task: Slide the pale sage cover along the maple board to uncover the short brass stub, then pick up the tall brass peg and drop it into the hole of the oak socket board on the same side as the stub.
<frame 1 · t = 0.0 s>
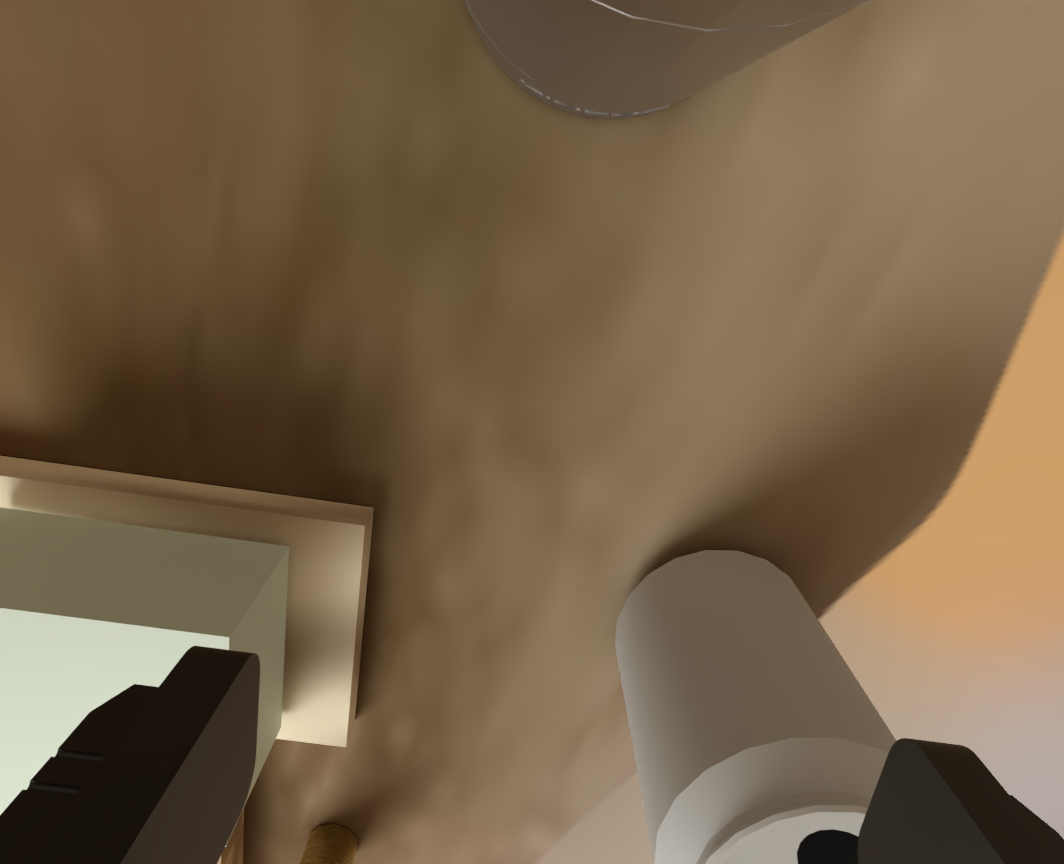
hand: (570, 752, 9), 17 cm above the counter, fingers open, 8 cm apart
peg: (332, 842, 32), on the counter
socket board: (109, 833, 32), on the counter
cover: (107, 670, 24), point 5 cm above the counter, slide at 0.0 cm
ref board: (172, 595, 28), on the counter
can: (705, 618, 29), on the counter
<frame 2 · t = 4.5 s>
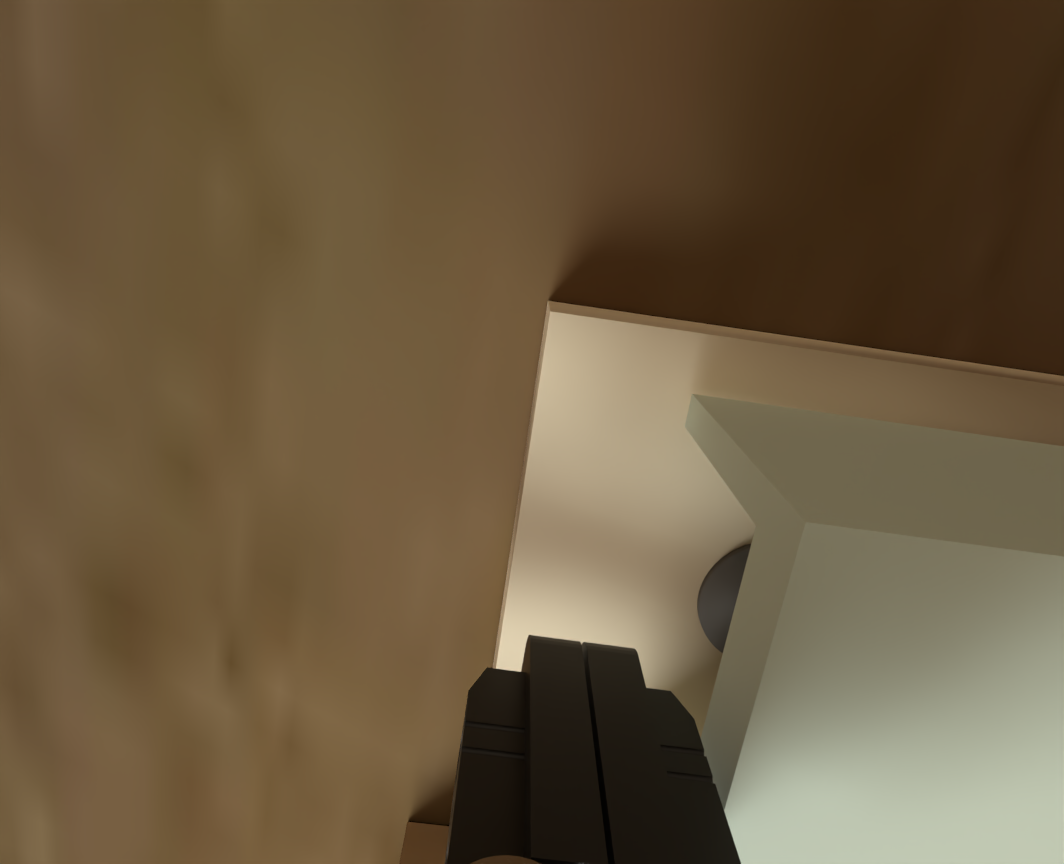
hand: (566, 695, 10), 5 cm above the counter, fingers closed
cover: (986, 723, 11), point 5 cm above the counter, slide at 0.1 cm, touching gripper
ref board: (853, 579, 16), on the counter
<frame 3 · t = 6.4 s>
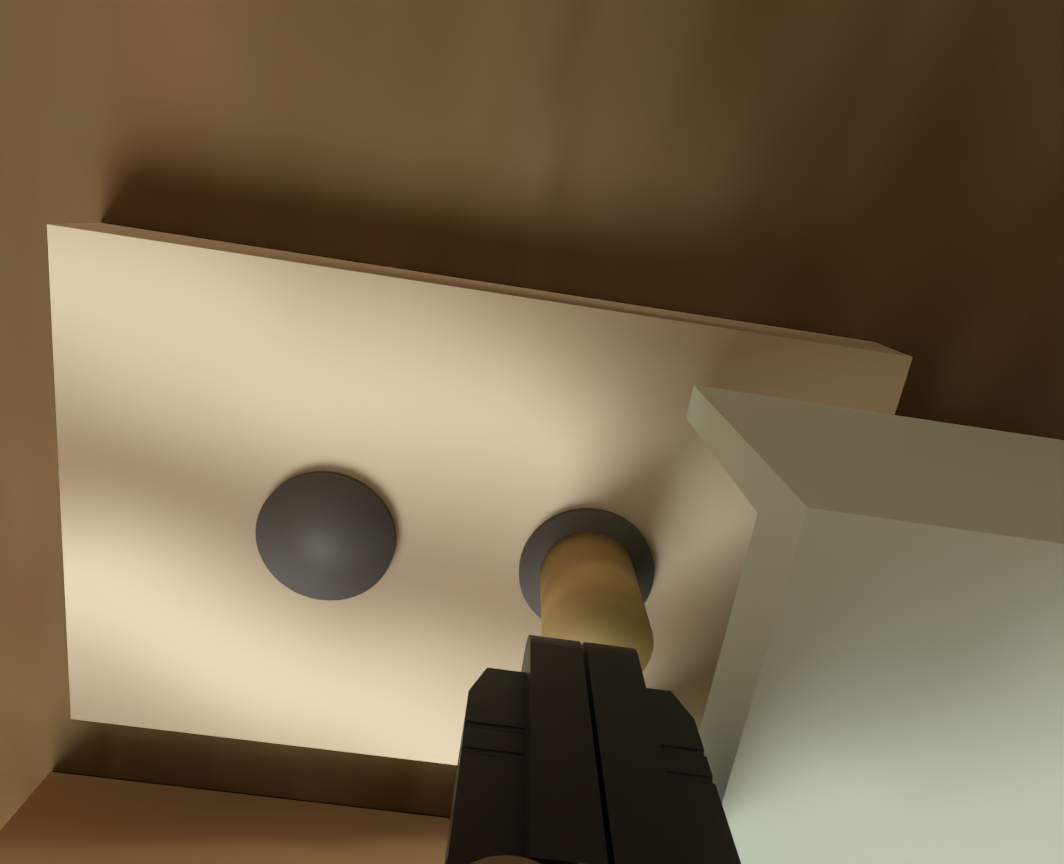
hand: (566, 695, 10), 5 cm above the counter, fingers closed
cover: (985, 715, 11), point 5 cm above the counter, slide at 8.7 cm, touching gripper
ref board: (464, 520, 15), on the counter
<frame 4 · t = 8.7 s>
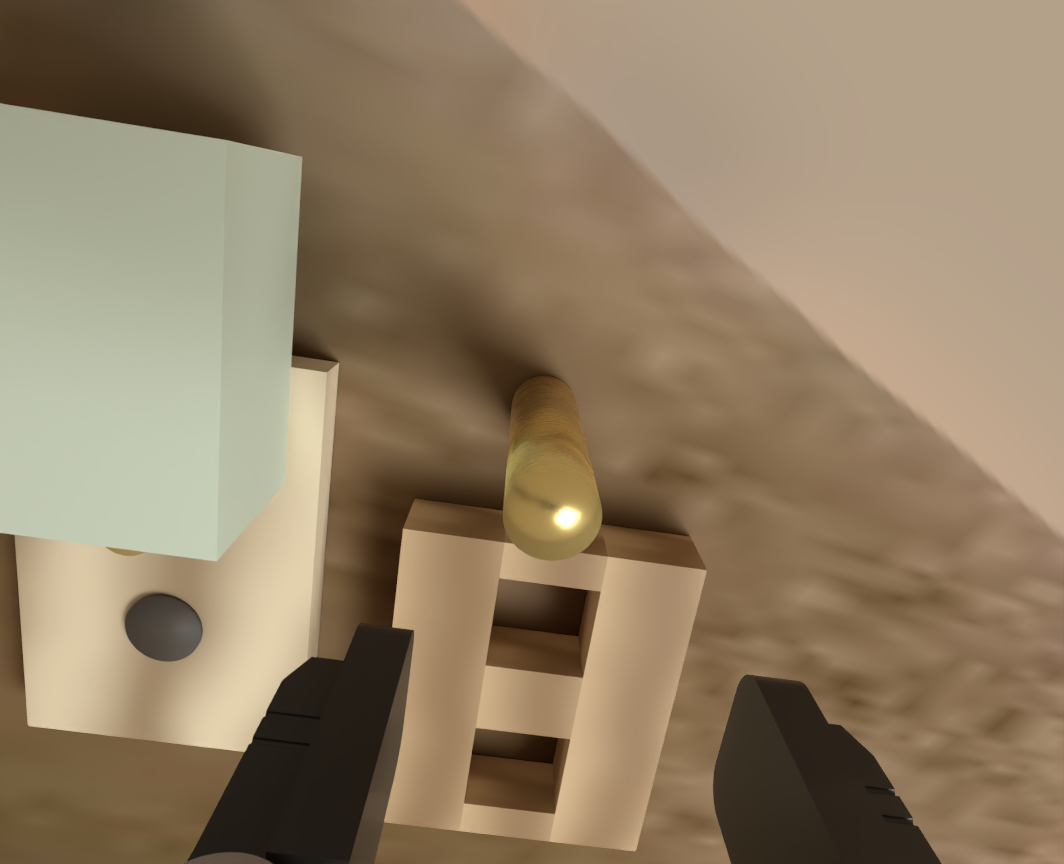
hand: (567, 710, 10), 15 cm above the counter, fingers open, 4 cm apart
peg: (543, 407, 24), on the counter
socket board: (528, 659, 27), on the counter
cover: (109, 325, 19), point 5 cm above the counter, slide at 8.7 cm
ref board: (185, 543, 26), on the counter
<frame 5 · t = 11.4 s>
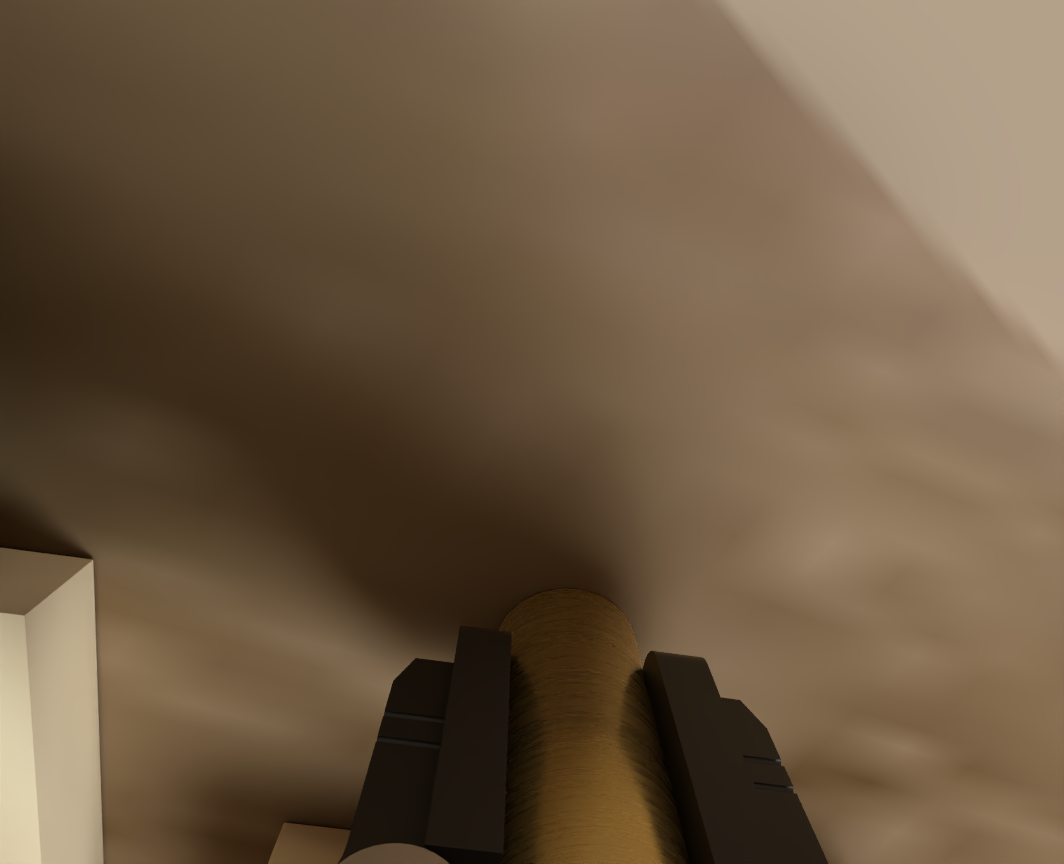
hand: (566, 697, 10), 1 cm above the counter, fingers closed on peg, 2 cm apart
peg: (565, 651, 11), on the counter, touching gripper
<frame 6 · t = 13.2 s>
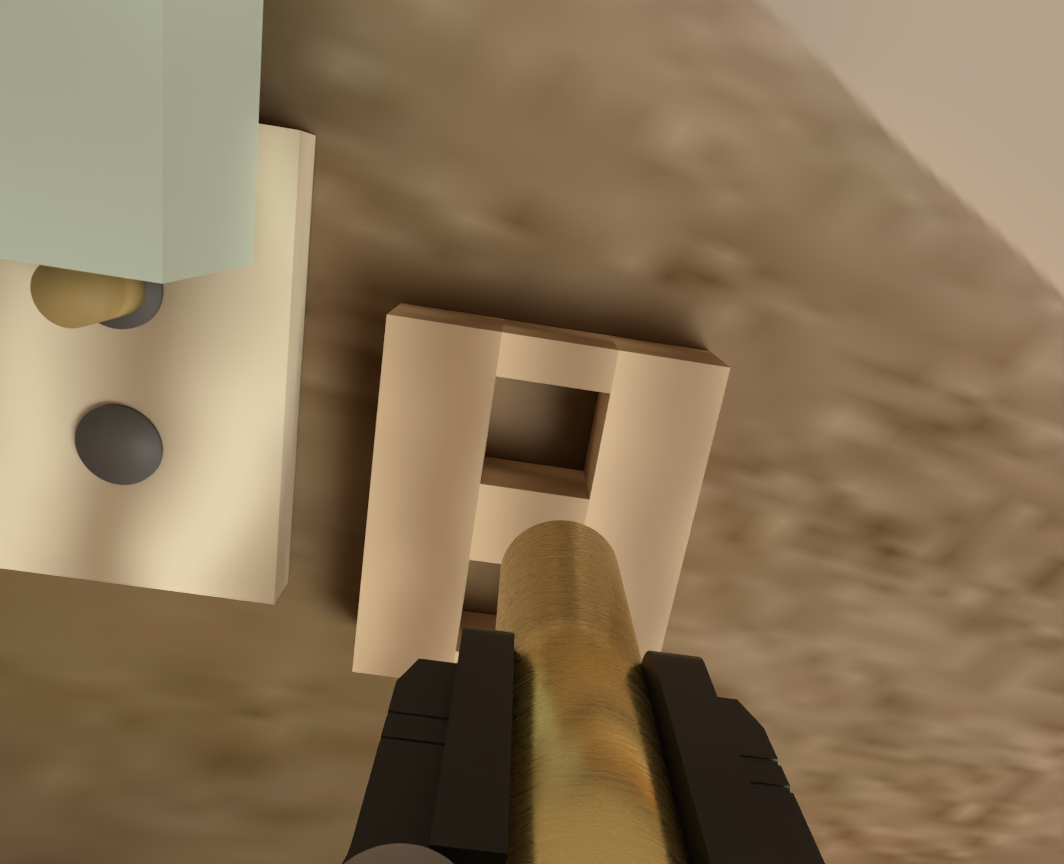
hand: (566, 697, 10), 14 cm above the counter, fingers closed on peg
peg: (559, 574, 13), point 11 cm above the counter, touching gripper
socket board: (528, 498, 25), on the counter
cover: (40, 22, 16), point 5 cm above the counter, slide at 8.7 cm
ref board: (145, 356, 23), on the counter
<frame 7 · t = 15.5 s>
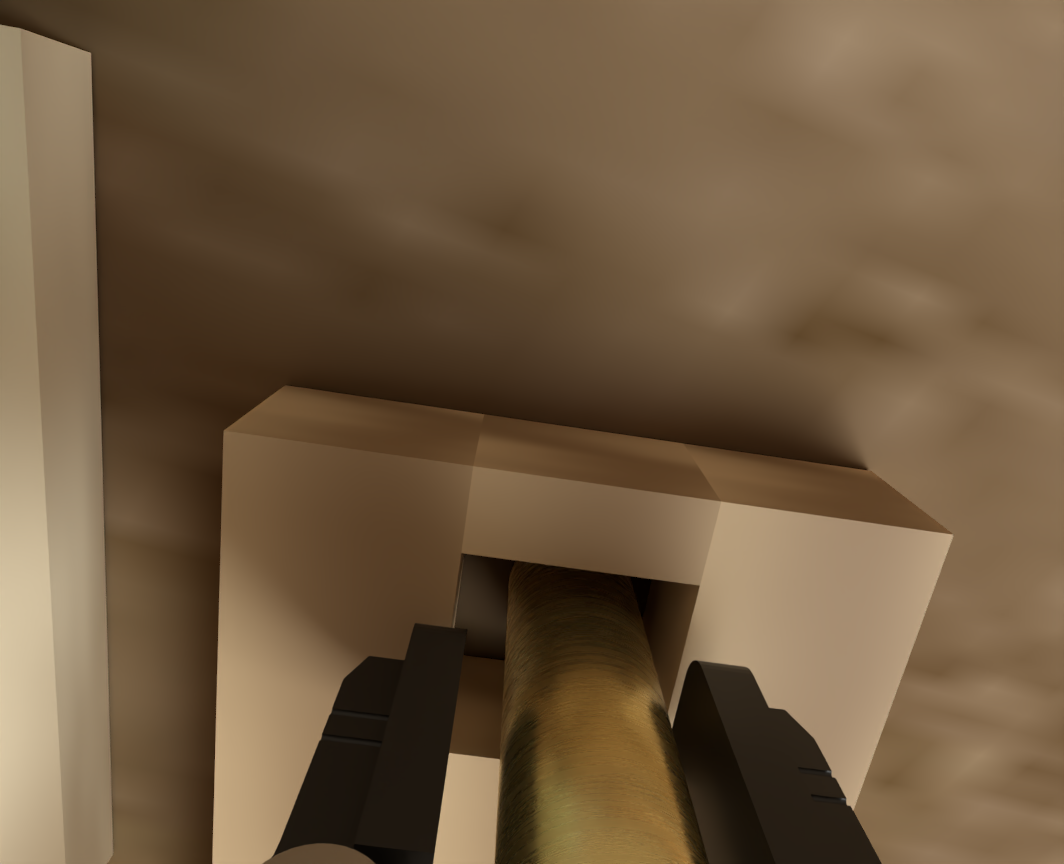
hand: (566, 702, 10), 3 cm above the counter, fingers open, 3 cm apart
peg: (569, 586, 13), resting in socket board
socket board: (530, 722, 14), on the counter
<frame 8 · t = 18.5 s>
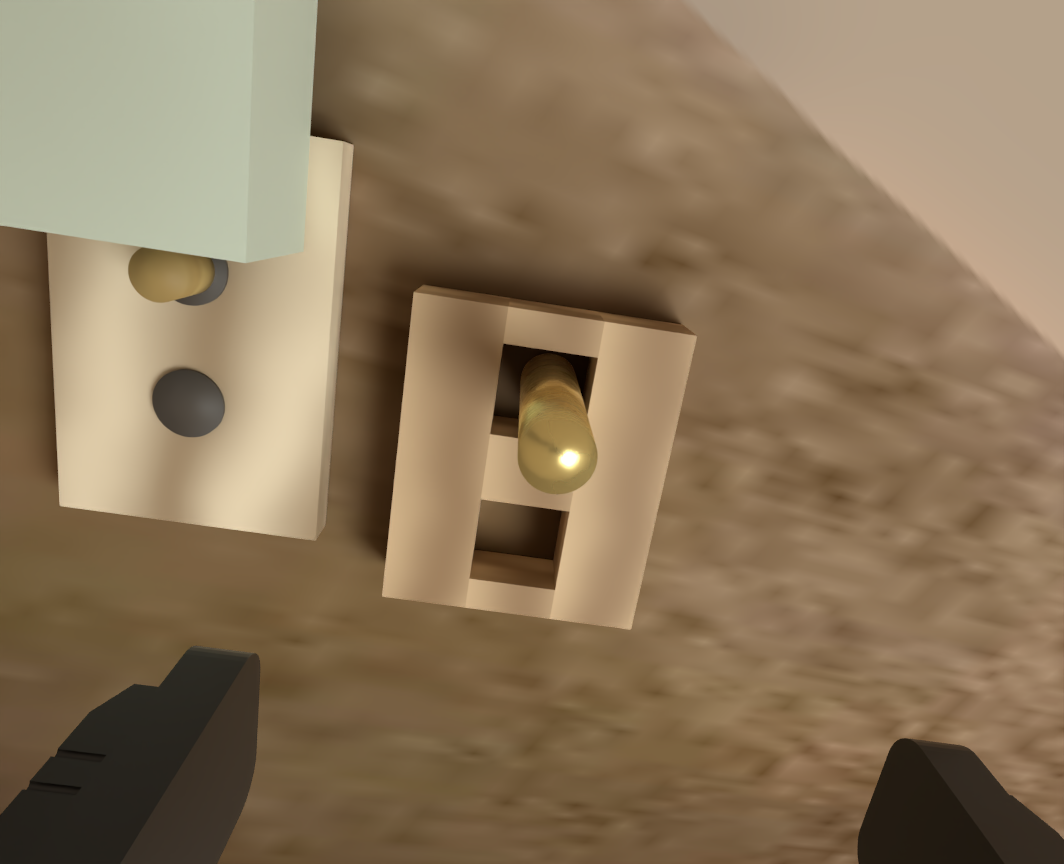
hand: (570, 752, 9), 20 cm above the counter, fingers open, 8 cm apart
peg: (548, 380, 28), resting in socket board
socket board: (530, 451, 29), on the counter
cover: (146, 58, 21), point 5 cm above the counter, slide at 8.7 cm
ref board: (208, 330, 27), on the counter
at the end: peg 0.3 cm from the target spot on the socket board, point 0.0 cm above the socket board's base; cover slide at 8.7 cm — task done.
